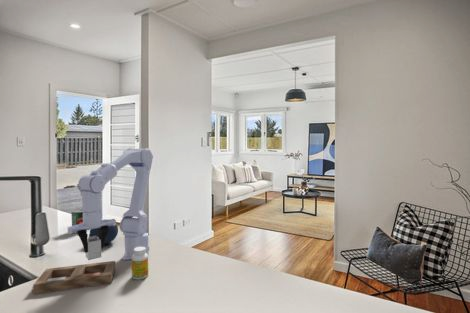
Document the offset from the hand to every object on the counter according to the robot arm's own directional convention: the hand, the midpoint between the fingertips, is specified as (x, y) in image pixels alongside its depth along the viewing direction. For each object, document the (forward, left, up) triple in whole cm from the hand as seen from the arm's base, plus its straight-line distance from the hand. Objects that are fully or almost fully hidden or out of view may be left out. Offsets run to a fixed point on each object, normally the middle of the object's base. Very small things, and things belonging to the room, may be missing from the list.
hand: (93, 249), depth 95 cm
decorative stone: (+2, -34, -10) cm, 35 cm away
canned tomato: (+17, -58, -10) cm, 61 cm away
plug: (0, 0, -2) cm, 3 cm away
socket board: (+5, 0, -10) cm, 11 cm away
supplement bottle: (-15, +3, -10) cm, 18 cm away
